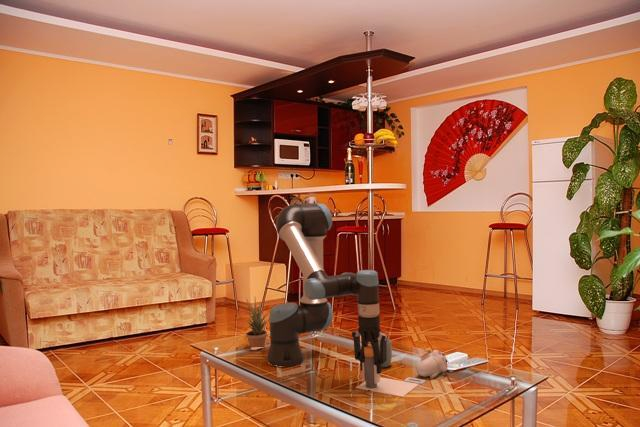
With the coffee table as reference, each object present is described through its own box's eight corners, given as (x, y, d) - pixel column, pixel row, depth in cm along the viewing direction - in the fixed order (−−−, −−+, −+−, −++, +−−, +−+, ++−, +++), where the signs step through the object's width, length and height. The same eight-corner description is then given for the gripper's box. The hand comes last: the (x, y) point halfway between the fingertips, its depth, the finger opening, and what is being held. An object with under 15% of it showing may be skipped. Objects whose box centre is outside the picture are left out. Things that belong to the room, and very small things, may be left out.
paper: (355, 388, 186) (355, 387, 186) (373, 376, 197) (373, 376, 197) (402, 397, 176) (402, 396, 176) (419, 384, 186) (419, 384, 186)
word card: (403, 381, 191) (403, 380, 191) (408, 377, 194) (408, 376, 194) (421, 384, 187) (421, 383, 187) (426, 380, 190) (426, 379, 190)
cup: (391, 369, 204) (390, 343, 204) (371, 369, 206) (370, 343, 205) (393, 363, 212) (392, 338, 211) (373, 362, 213) (372, 337, 213)
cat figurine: (418, 354, 191) (444, 341, 200) (405, 361, 197) (431, 348, 206) (431, 379, 188) (457, 365, 197) (418, 385, 194) (444, 371, 203)
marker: (363, 387, 186) (361, 347, 185) (369, 383, 189) (367, 344, 189) (373, 389, 183) (372, 348, 183) (379, 385, 187) (378, 345, 186)
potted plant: (242, 350, 239) (239, 295, 238) (256, 344, 247) (253, 291, 246) (259, 353, 233) (256, 297, 232) (273, 347, 241) (270, 293, 240)
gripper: (342, 315, 187) (345, 380, 188) (385, 319, 178) (388, 388, 178) (353, 310, 193) (356, 374, 194) (395, 315, 184) (398, 381, 184)
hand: (371, 381), depth 186 cm, fingers closed on marker, 4 cm apart
